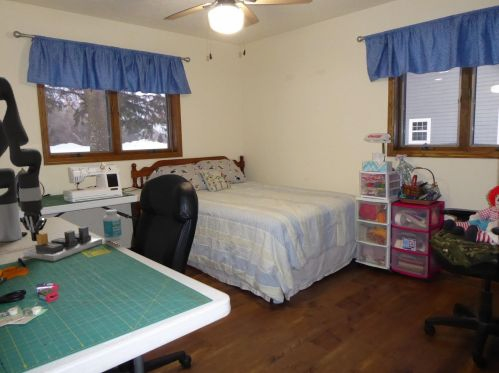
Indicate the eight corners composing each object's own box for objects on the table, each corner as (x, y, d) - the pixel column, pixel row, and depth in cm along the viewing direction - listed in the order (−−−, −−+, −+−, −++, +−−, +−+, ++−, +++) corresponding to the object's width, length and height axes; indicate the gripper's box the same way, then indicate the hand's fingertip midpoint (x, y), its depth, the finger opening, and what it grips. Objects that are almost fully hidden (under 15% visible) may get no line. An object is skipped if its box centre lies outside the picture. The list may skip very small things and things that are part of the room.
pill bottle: (116, 242, 157) (113, 212, 155) (101, 241, 159) (98, 212, 157) (125, 237, 164) (123, 208, 163) (110, 236, 166) (108, 208, 164)
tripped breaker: (37, 244, 142) (36, 234, 141) (44, 242, 145) (43, 232, 144) (41, 244, 141) (40, 235, 141) (48, 242, 144) (47, 233, 143)
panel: (23, 256, 141) (21, 236, 140) (74, 239, 163) (72, 222, 162) (54, 261, 134) (52, 240, 133) (102, 243, 156) (101, 225, 155)
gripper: (10, 199, 141) (15, 242, 143) (33, 201, 136) (38, 245, 138) (28, 196, 148) (33, 237, 150) (51, 197, 143) (55, 239, 145)
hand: (35, 240), depth 144 cm, fingers closed
